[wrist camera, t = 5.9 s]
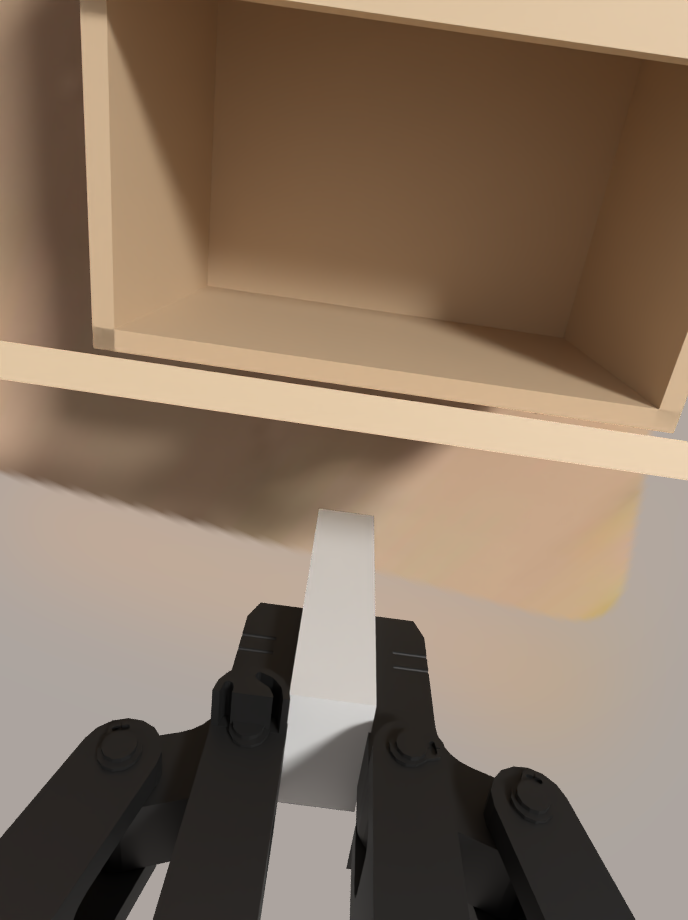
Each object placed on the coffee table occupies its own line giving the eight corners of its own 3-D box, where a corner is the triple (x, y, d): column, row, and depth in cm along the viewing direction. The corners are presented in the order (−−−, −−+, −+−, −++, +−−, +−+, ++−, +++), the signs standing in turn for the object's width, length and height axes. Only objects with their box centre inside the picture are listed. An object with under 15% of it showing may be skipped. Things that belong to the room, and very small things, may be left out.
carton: (196, 298, 25) (93, 351, 16) (212, -219, 19) (55, -607, 10) (569, 353, 25) (672, 436, 16) (714, -146, 19) (1020, -468, 10)
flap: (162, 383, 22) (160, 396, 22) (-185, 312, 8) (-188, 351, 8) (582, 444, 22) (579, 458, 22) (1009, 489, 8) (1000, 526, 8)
